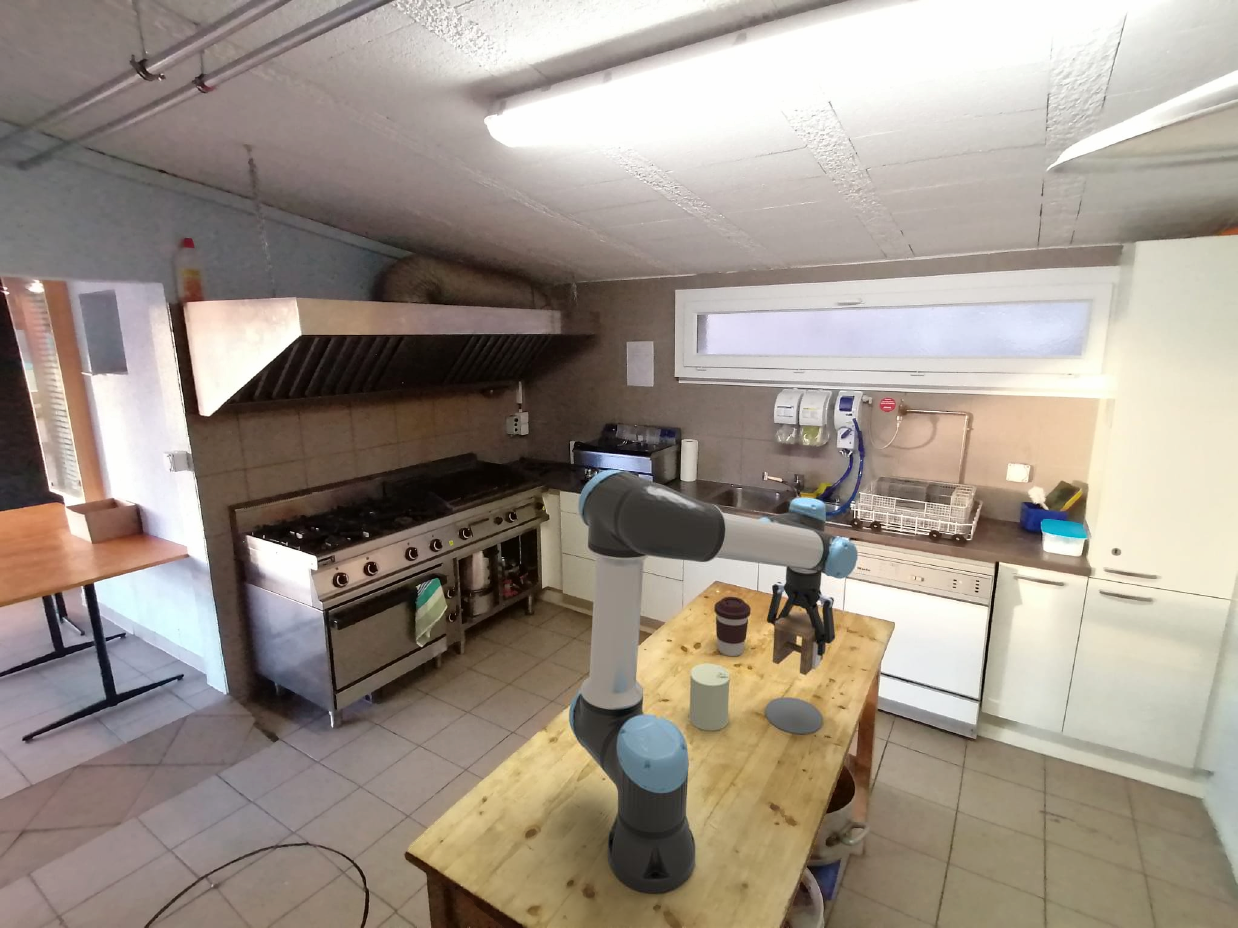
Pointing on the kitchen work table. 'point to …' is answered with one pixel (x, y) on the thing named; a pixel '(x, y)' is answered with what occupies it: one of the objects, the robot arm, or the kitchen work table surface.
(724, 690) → the can
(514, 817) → the kitchen work table surface
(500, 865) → the kitchen work table surface
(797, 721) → the rubber mat
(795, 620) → the wooden stool
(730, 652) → the coffee cup
